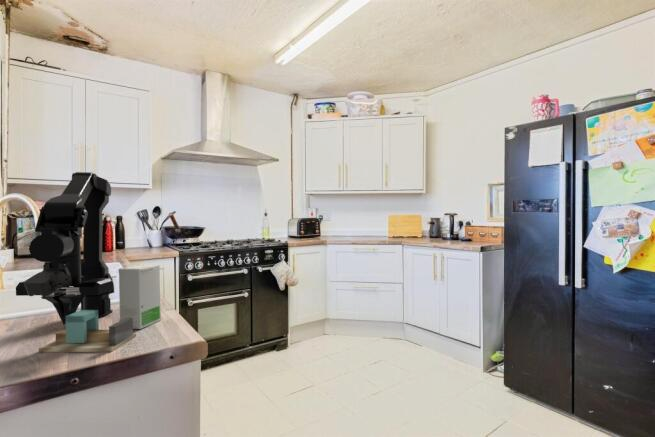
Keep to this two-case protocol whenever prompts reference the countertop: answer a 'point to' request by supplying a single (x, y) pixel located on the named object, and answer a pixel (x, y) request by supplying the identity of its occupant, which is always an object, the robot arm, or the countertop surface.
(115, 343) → the board
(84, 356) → the countertop surface
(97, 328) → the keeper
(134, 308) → the skincare box
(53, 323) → the countertop surface
